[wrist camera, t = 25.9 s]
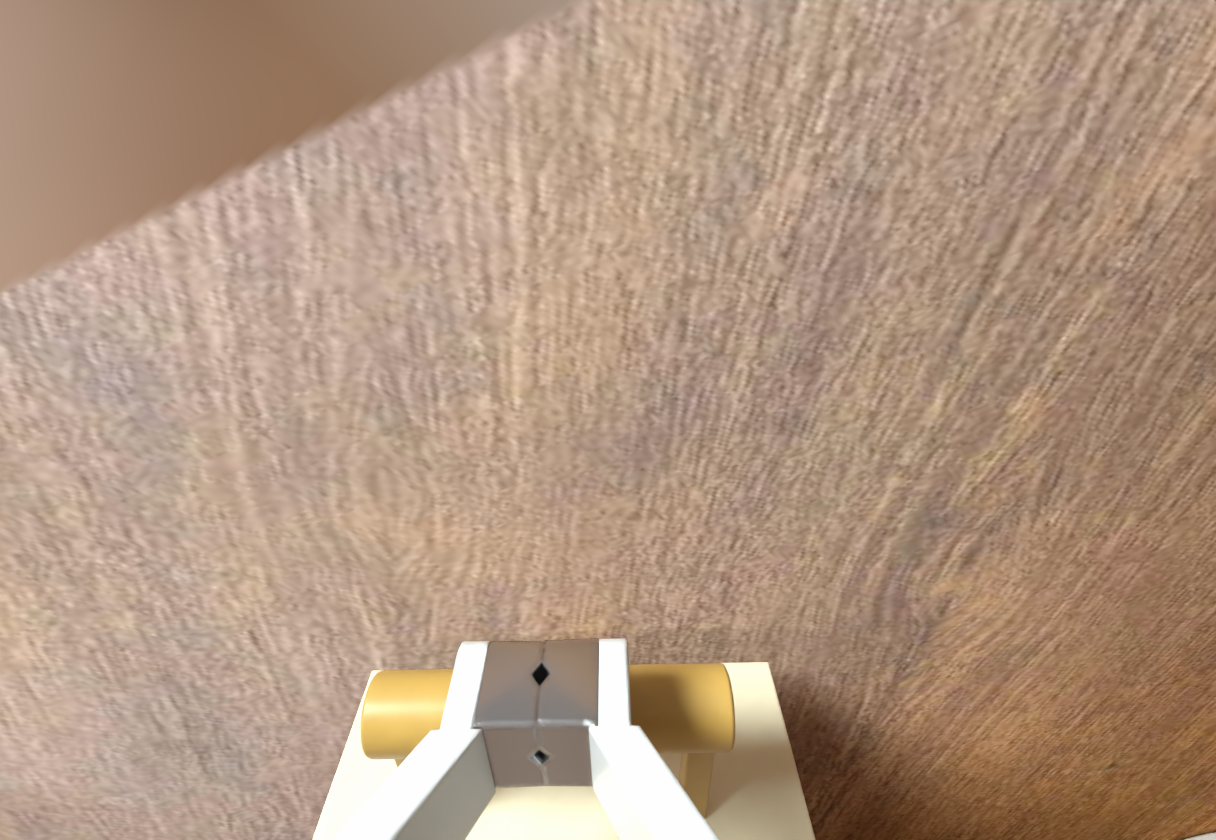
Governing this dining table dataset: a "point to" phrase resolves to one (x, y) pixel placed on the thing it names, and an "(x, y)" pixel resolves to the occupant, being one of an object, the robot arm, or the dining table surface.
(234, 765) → the dining table surface
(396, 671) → the drawer
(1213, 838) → the coffee cup
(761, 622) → the dining table surface
